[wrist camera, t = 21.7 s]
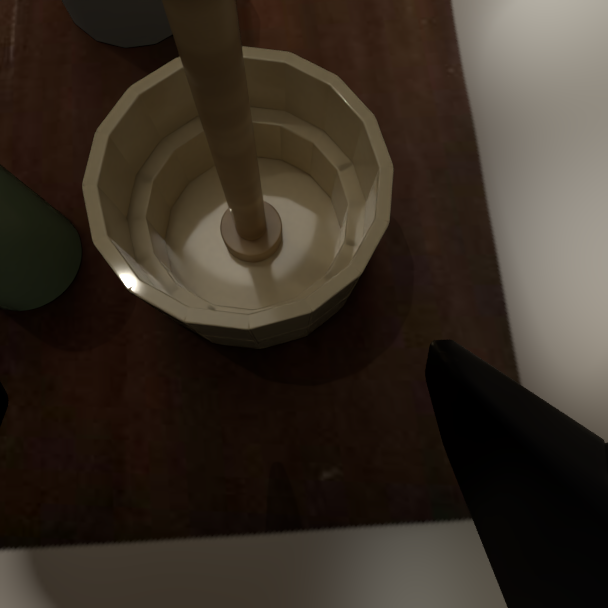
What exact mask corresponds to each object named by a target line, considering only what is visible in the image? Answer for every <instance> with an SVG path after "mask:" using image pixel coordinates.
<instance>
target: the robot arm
mask: <svg viewBox="0 0 608 608" xmlns="http://www.w3.org/2000/svg"><path fill="white" fill-rule="evenodd" d="M425 377H426V382H427V386H428V390H429V394H430V397H431V401H432V405H433V409H434V412H435V416H436V420H437V424H438V427H439V431H440V435H441V438H442V442H443V445H444V448H445V450H446V453H447V456H448V458H449V461H450V463H451V466H452V468H453V471H454V474H455V476H456V479H457V481H458V484H459V486H460V489H461V491H462V494H463V496H464V499H465V501H466V504H467V506H468V509H469V511H470V514H471V516H472V519H473V521H474V524H475V526H476V529H477V531H478V534H479V536H480V539H481V541H482V544H483V547H484V549H485V552H486V554H487V557H488V559H489V562H490V564H491V567H492V569H493V572H494V574H495V577H496V579H497V582H498V584H499V587H500V589H501V591H502V594H503V597H504V599H505V602H506V604H507V607H508V608H608V443H605V442H604V440H603V439H602V438H600V437H599V436H597V435H596V434H594V433H593V432H591V431H590V430H588V429H587V428H585V427H584V426H582V425H581V424H579V423H577V422H576V421H575V420H573V419H572V418H570V417H568V416H567V415H565V414H564V413H562V412H560V411H559V410H558V409H556V408H555V407H553V406H552V405H550V404H549V403H547V402H546V401H544V400H543V399H541V398H539V397H538V396H537V395H535V394H534V393H532V392H530V391H529V390H527V389H526V388H524V387H523V386H521V385H520V384H518V383H517V382H515V381H514V380H512V379H511V378H509V377H508V376H506V375H505V374H503V373H502V372H500V371H499V370H497V369H495V368H494V367H492V366H491V365H489V364H488V363H486V362H485V361H483V360H482V359H480V358H479V357H477V356H476V355H474V354H473V353H471V352H470V351H468V350H467V349H465V348H464V347H462V346H461V345H459V344H457V343H456V342H454V341H453V340H434V341H433V342H431V344H430V347H429V352H428V358H427V364H426V370H425ZM7 407H8V395H7V393H6V391H5V389H4V387H3V385H2V384H1V382H0V426H1V423H2V420H3V418H4V415H5V412H6V410H7Z"/></svg>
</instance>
